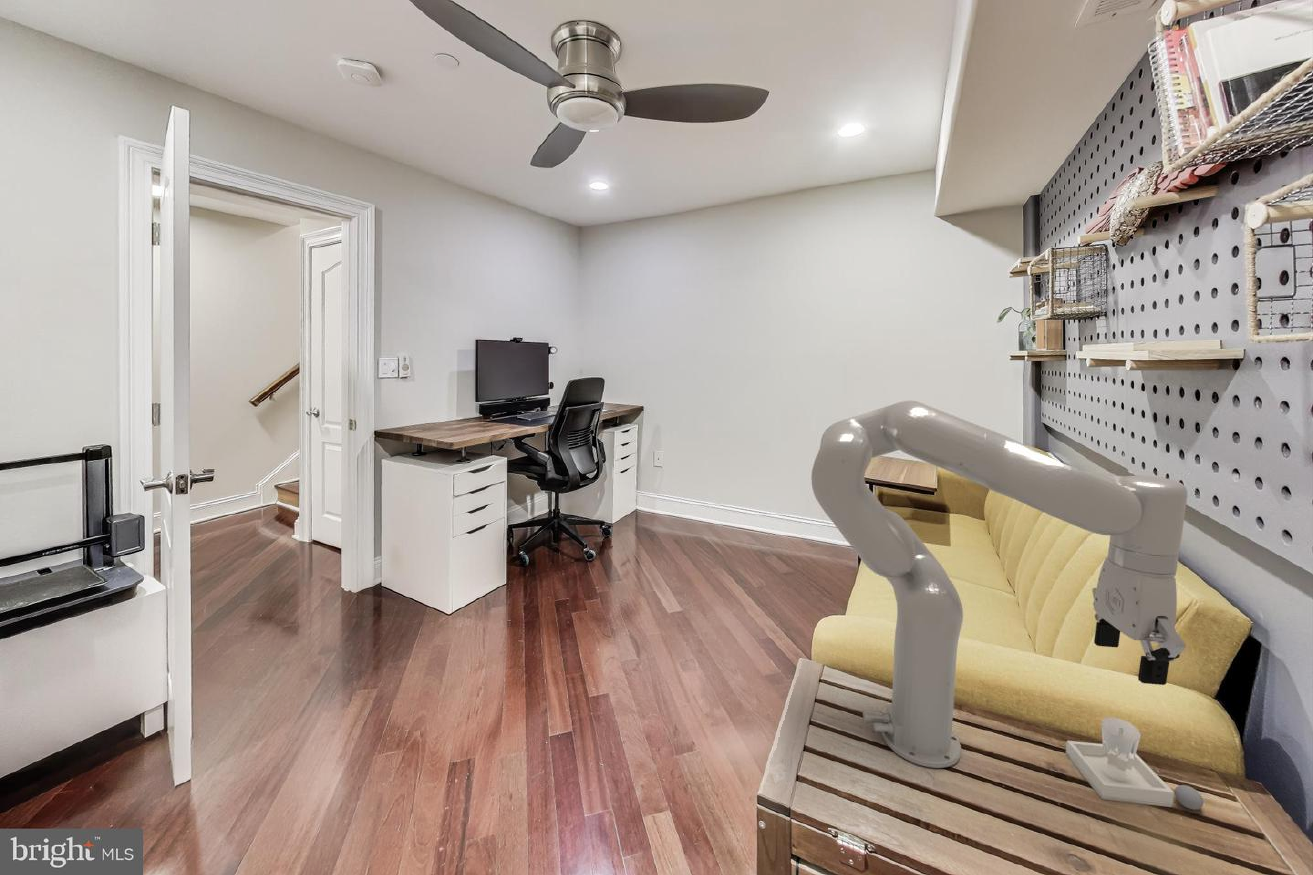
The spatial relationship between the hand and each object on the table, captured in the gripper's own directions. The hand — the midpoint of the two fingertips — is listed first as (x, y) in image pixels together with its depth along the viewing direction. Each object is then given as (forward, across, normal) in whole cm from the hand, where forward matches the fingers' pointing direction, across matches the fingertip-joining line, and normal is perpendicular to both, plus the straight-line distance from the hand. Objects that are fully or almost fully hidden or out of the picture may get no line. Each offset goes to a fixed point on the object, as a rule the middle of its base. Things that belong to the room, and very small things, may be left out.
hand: (1127, 663), depth 78 cm
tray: (+20, 0, 0) cm, 20 cm away
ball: (+20, +4, +7) cm, 22 cm away
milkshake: (+20, 0, 0) cm, 20 cm away
